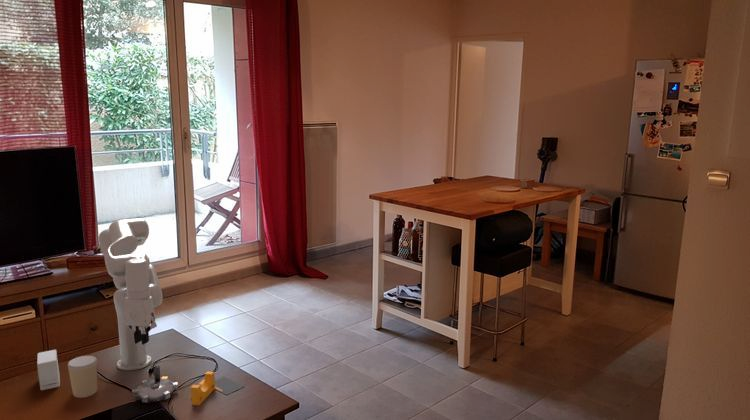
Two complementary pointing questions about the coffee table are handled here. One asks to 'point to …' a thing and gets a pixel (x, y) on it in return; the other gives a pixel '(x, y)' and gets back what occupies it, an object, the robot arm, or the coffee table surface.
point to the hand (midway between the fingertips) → (141, 342)
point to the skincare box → (48, 370)
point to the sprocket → (155, 387)
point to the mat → (226, 385)
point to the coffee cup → (83, 376)
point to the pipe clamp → (203, 388)
